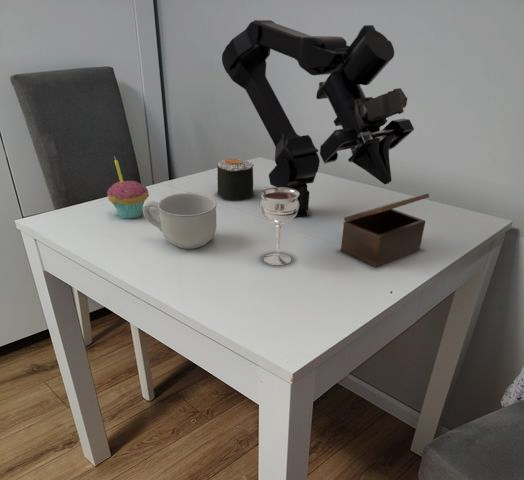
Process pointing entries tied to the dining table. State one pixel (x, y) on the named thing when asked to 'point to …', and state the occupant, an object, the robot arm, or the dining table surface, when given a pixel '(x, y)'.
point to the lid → (386, 207)
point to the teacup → (185, 218)
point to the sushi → (235, 179)
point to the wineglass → (279, 215)
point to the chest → (382, 237)
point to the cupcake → (127, 196)
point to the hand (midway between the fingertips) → (388, 182)
